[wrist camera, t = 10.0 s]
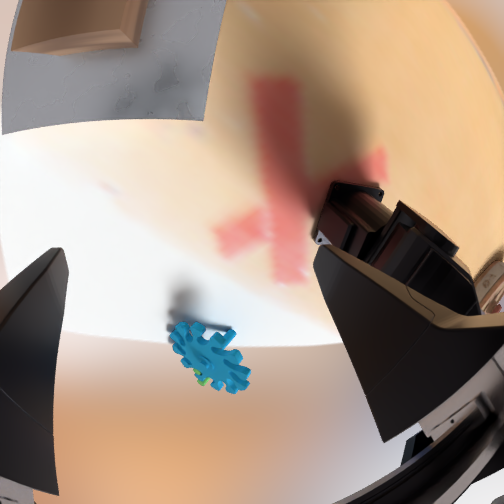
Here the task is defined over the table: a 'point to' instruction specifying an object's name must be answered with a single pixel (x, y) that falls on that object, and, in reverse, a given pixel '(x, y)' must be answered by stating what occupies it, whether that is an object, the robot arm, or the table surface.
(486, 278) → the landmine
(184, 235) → the table surface
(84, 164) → the table surface
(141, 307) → the table surface
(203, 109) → the base plate
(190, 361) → the blue spiky blob
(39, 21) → the walnut block
